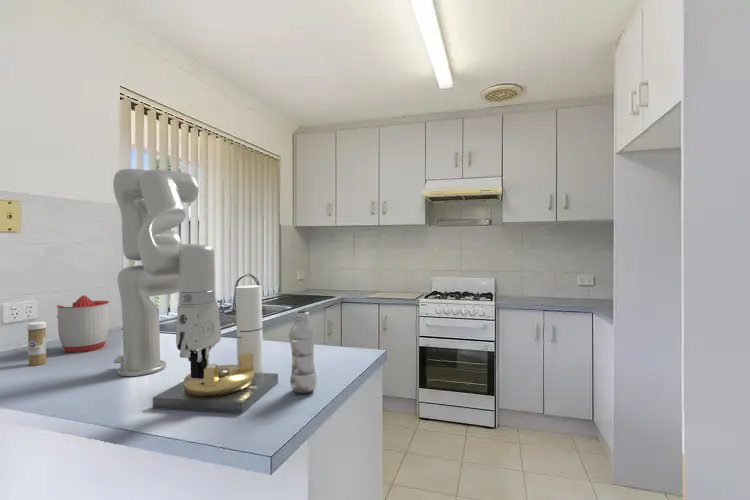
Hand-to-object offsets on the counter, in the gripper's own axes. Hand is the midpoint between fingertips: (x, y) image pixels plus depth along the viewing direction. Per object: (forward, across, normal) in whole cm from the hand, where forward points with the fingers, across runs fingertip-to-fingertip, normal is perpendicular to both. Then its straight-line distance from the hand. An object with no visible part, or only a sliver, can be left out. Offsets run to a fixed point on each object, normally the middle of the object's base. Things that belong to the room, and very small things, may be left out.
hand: (199, 377), depth 90 cm
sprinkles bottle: (+8, +18, +75) cm, 78 cm away
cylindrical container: (+7, +24, +2) cm, 25 cm away
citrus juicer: (+8, +36, +79) cm, 87 cm away
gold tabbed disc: (+4, +7, -1) cm, 8 cm away
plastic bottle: (+7, +12, -20) cm, 25 cm away
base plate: (+7, +6, -1) cm, 9 cm away
